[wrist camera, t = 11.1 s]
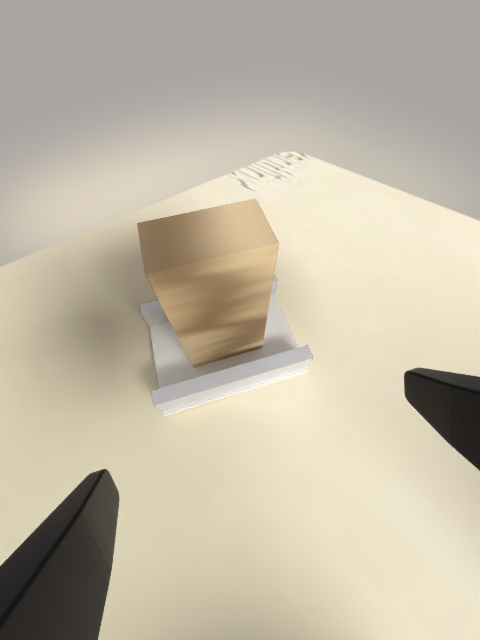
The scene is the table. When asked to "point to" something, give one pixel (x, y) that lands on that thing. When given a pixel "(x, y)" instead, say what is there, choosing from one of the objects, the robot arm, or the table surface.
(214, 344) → the wooden block
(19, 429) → the table surface
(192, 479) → the table surface
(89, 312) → the table surface
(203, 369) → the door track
